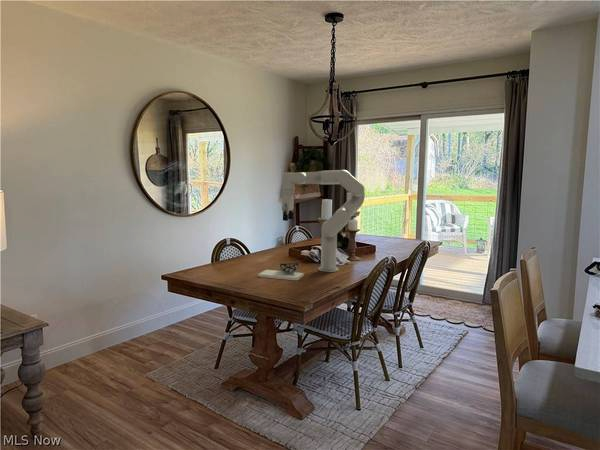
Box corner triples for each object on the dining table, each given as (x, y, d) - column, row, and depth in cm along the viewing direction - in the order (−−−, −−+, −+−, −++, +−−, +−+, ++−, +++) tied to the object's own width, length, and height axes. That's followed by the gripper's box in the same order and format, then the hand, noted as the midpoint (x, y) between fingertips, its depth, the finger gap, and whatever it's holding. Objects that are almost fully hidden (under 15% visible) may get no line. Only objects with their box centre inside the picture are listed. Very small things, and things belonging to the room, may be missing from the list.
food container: (279, 274, 246) (278, 274, 236) (278, 264, 247) (278, 263, 237) (299, 274, 247) (300, 273, 237) (299, 263, 248) (299, 262, 238)
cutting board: (266, 272, 249) (266, 269, 249) (303, 275, 241) (303, 273, 241) (258, 276, 238) (258, 274, 238) (297, 280, 230) (297, 277, 230)
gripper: (287, 191, 262) (287, 218, 264) (277, 192, 246) (277, 220, 248) (298, 192, 260) (298, 218, 262) (289, 193, 244) (289, 221, 246)
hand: (288, 219), depth 255 cm, fingers open, 9 cm apart
